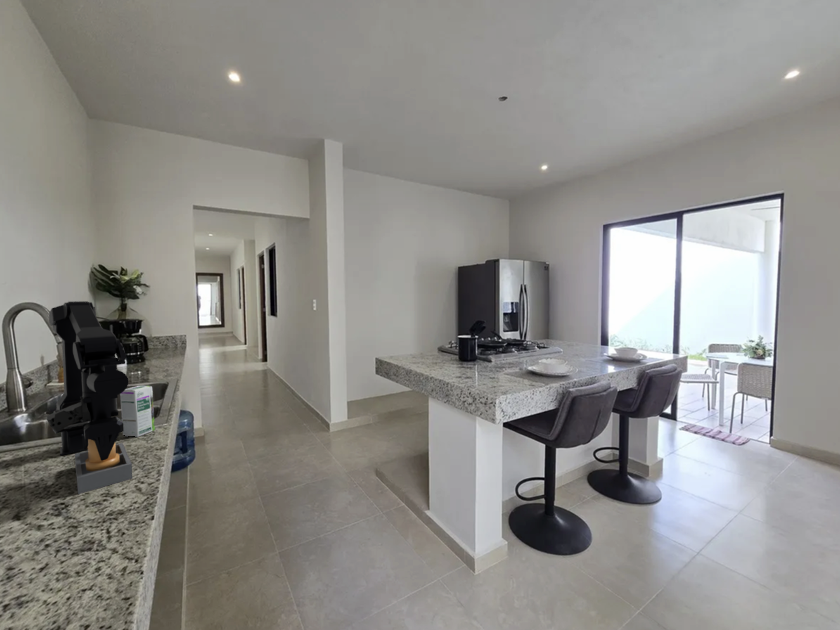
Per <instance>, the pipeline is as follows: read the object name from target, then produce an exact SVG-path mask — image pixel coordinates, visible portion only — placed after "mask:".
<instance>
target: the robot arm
mask: <svg viewBox="0 0 840 630" xmlns="http://www.w3.org/2000/svg"><path fill="white" fill-rule="evenodd" d="M48 319H49V320H48V321H49V325H50V326H52V330H53V333H55V334H56V335H57V336H58V337H59V338H60V340H61V348H62V349H61V350H62V353H61V354H62V368H63V369H62V370H63V371H62V372H63V373H62V374H63V390H64V391H63V394H62V395H61V396H60V398H59V399H58V400H57V401H56V410H54V411H53V413H52V412H51V413H50V414H48V415H47V416H46V422H48V424H49V426H50V427H51V429H52V431H53V432H54V434H59V433H60V437H61V446H60V448H59V455H60V456H65V455H70V454H73V453H74V454H75V453H80V452H84V451H88V439H91V440H93V441H94V442H95V444H96V447H97V450H98V453H99V456H100V459H101V460H106V459H108V457H109V454H110V452H111V450H112V448H113V446H114V444H116V442H117V439H118V438H119V435H120V434H121V433H123V431H124V427H123V422H122V418H119V417H117V416H119V410H118V403H117V402H118V401H117V399H118V396H119V395H120V394H121V393H122V392H123V391H124V390H125V389H128V388H127V387H128V386H129V378H128V376H127V374H125V372H124V371H121V370H119V369H118V365H119V366H120V365H126V360H127V353H126V351H125V349H124V346H123V345H124V344H123V343H121V341H120V339H119V338H117V337H116V335H115V334H114V333H113V331H111V330H109V329H105V328H103V327H102V326H101V324H100V322H99V320H98V318H97V313H96V307H95V306H94V305H93V302H91V301H79V300H78V301H67V302H64V303H63V304H61V305H58V306H55V307H52V308H51V309H50V311H49V313H48Z"/></svg>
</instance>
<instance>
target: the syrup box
mask: <svg viewBox="0 0 840 630" xmlns="http://www.w3.org/2000/svg"><path fill="white" fill-rule="evenodd" d="M153 393H154V392H153V386H151V385H147V384H146V385H145V384H144V385H136V386H132V387H129V388H126V389H125V390H124V391H123V392H122V393H121V394H119V395H120V397H119V398H120V409H121V410H120V411H121V420H122V422H123V427H124V431H123V432H122V436H123V435H125V436H124V437H128V436H135V437H134V438H140V437H141V436H143V435H146V434H149V433H152V432H154V431H155V430H156V426H155V413H154V412H155V409H154V394H153Z"/></svg>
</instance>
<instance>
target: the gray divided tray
mask: <svg viewBox="0 0 840 630" xmlns="http://www.w3.org/2000/svg"><path fill="white" fill-rule="evenodd" d="M115 446H116V453H117V454H119V459H120V462H119V463H118V464H117V465H115V466H112V467H110V468H107V469H103V470H98V471H87V470H86V461H88V460H89V446H88V450H84V451H80V452H75V453H74V460H75V461H74V462H75V463H74V464H75V474H76V485H77V494H78V495H80V494H83V493H88V492H91V491H95V490H97V489H101V488H104V487H108V486H110V485H114V484H118V483H121V482H125V481H128V480H132V479H133V463H132V461H131V459H130V457H129V454H128V452H127V450H126V448H125V446H124V443H123V442H121V443H115Z"/></svg>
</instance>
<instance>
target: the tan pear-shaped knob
mask: <svg viewBox="0 0 840 630" xmlns="http://www.w3.org/2000/svg"><path fill="white" fill-rule="evenodd" d="M115 444H116V443H115ZM115 444H114V446H113V448H112V450H111V452H110V454H109V457H108V459H106V460H101V459H100V456H99V453H98V450H97V447H96V444H95V442H94V441H93V440H91V439H88V446H89V460H88V461H86V470H87V471H98V470H103V469H107V468H110V467H112V466H115V465H117V464H118V463H119V462H120V459H119V454H117V453H116V446H115Z"/></svg>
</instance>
